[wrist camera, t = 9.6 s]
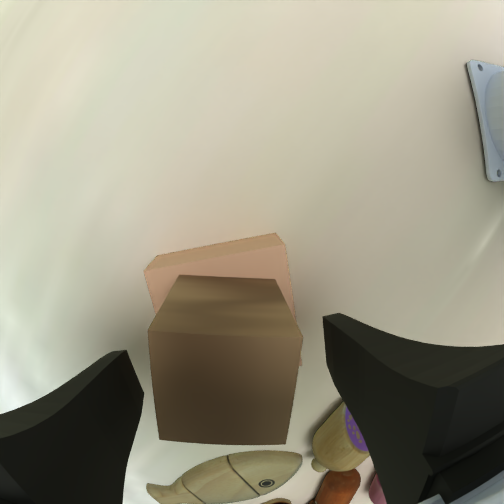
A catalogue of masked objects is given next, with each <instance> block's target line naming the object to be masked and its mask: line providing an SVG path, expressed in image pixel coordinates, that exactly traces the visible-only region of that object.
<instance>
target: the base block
mask: <svg viewBox="0 0 504 504" xmlns="http://www.w3.org/2000/svg"><path fill="white" fill-rule="evenodd" d="M144 274H145V278H146V281H147V285H148V289H149V292H150V296H151V299H152V302H153V306H154V309H155V313H156V314H157V313H158V311H159V309H160V307H161V306H162V304H163V302H164V300H165V299H166V297H167V295H168V293H169V292H170V290H171V288H172V286H173V285H174V283H175V281H176V279H177V278H178V276H179V275H197V276H217V277H239V278H262V279H275V280H276V282H277V284H278V286H279V288H280V290H281V292H282V294H283V296H284V298H285V300H286V302H287V305H288V307H289V309H290V311H291V313H292V315H293V317H294V319H295V321H296V316H295V309H294V302H293V295H292V288H291V281H290V274H289V268H288V261H287V255H286V248H285V244H284V242H283V241H282V240H281V239H280V238H279V236H278V235H277V234H276V233H272V234H267V235H261V236H256V237H251V238H245V239H240V240H235V241H229V242H224V243H219V244H214V245H209V246H203V247H198V248H193V249H188V250H183V251H178V252H173V253H168V254H162V255H157V256H156V257H155V259H154V260H153V261H152V262H151V263H150V264H149V265H148V267H147V268H146V269H145V270H144ZM299 366H302V361H301V355H300V362H299Z"/></svg>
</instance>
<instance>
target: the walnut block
mask: <svg viewBox="0 0 504 504" xmlns="http://www.w3.org/2000/svg"><path fill="white" fill-rule="evenodd" d="M148 340H149V354H150V365H151V376H152V386H153V395H154V403H155V411H156V419H157V426H158V433H159V440H167V441H177V442H188V443H202V444H221V445H281V444H286V439H287V434H288V428H289V423H290V417H291V412H292V406H293V400H294V394H295V388H296V381H297V375H298V368H299V362H300V355H301V348H302V341H303V336H302V334H301V332H300V330H299V328H298V325H297V323H296V321H295V319H294V317H293V315H292V313H291V311H290V309H289V307H288V305H287V302H286V300H285V298H284V296H283V294H282V292H281V290H280V288H279V286H278V284H277V282H276V280H275V279H262V278H239V277H217V276H197V275H179V276H178V278H177V279H176V281H175V283H174V285H173V286H172V288H171V290H170V292H169V293H168V295H167V297H166V299H165V300H164V302H163V304H162V306H161V307H160V309H159V311H158V313H157V314H156V316H155V318H154V320H153V322H152V323H151V325H150V327H149V329H148Z"/></svg>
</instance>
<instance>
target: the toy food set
mask: <svg viewBox="0 0 504 504" xmlns="http://www.w3.org/2000/svg"><path fill="white" fill-rule="evenodd" d="M312 449H313V453H314V456H315V459H313V460H312V463H311V465H312V468H313V469H314V470H315V471H317V472H324V471H325V470H326V469H329V470H331V471H330V472H328V473H327V475H326V476H325V479H324V481H323V483H322V485H321V487H320V490H319V492H318V494H317V496H316V498H315V499H313V500H312V501H310V502H309V503H308V504H349V503H350V501H351V500H352V498H353V496H354V495H355V493H356V491H357V489H358V488H359V486H360V482H361V477H360V474H359V473H358V471H357V470H356V469H355V468H356V467H357V466H358V465H359V464H361V463H362V462H363V461H364V460H365V459H366V458H367V457H368V456H369V455H370V453H369V451H368V448H367V446H366V443H365V441H364V438H363V436H362V434H361V432H360V430H359V428H358V426H357V424H356V422H355V421H354V419H353V417H352V415H351V413H350V412H349V410H348V408H347V406H346V405H345V403H344V401H343V402H342V404H341V405H340V406H339V407H338V408H337V409H336V410H335V411H334V412H333V414H332V415H331V416H330V417H329V418H328V419H327V420H326V421H325V422H324V424H323V425H322V426H321V427H320V428H319V429H318V430H317V431H316V433H315V435H314V438H313V443H312ZM301 465H302V456H301V455H300V454H298V453H294V452H286V451H270V450H264V451H248V452H240V453H234V454H229V455H227V456H222V457H218V458H215V459H212V460H209V461H206V462H204V463H202V464H199V465H197V466H195V467H193V468H192V469H190V470H188V471H187V472H185V473H184V474H183V475H182V477H179V478H178V479H177V480H176V481H175V482H174V483H173V484H172V485H170V486H161V485H155V484H149V483H147V486H146V489H147V492H148V493H149V495H151V496H152V497H153V498H154V499H155V500H156V501H158V502H159V503H160V504H182V503H187V504H223V503H232V502H239V501H244V500H249V499H253V498H256V497H259V496H260V495H265V494H267V493H270V492H272V491H274V490H275V489H277V488H279V487H280V486H282V485H283V484H285V483H286V482H287V481H288V480H289V479H290V478H292V477H293V476H294V474H295V473H296V472H297V471H298V470H299V468H300V467H301ZM369 497H370V499H371V501H372V502H373V503H374V504H387V503H386V499H385V496H384V493H383V490H382V487H381V484H380V481H379V478H378V475H377V473H376V475H375V477H374V479H373V481H372V483H371V486H370V488H369ZM262 504H291V501H290V500H288V499H284V498H276V499H272V500H270V501H267V502H265V503H262Z"/></svg>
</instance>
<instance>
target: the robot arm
mask: <svg viewBox="0 0 504 504" xmlns="http://www.w3.org/2000/svg"><path fill="white" fill-rule="evenodd" d="M467 68H468V72H469V76H470V79H471V84H472V88H473V92H474V96H475V101H476V106H477V111H478V116H479V122H480V127H481V134H482V140H483V147H484V155H485V164H486V174H487V178H488V180H490V181H494V182H495V181H504V67H502V66H498V65H494V64H490V63H485V62H481V61H476V60H470V61H468V62H467ZM478 68H479V69H478ZM323 328H324V339H325V350H326V363H327V366H328V369H329V372H330V374H331V377H332V380H333V382H334V385H335V387H336V388H337V390H338V392H339V394H340V396H341V397H342V399H343V401H344V403H345V405H346V406H347V408H348V410H349V412H350V413H351V415H352V417H353V419H354V421H355V422H356V424H357V426H358V428H359V430H360V432H361V434H362V436H363V438H364V441H365V443H366V446H367V448H368V451H369V453H370V456H371V459H372V461H373V464H374V467H375V470H376V472H377V475H378V478H379V481H380V484H381V487H382V490H383V493H384V496H385V499H386V503H387V504H504V344H503V345H494V346H484V347H454V346H443V345H434V344H428V343H422V342H418V341H413V340H409V339H405V338H402V337H398V336H395V335H392V334H389V333H386V332H384V331H381V330H378V329H376V328H373V327H371V326H369V325H366V324H364V323H362V322H360V321H357V320H355V319H353V318H351V317H348V316H346V315H344V314H341V313H336V314H332V315H328V316H323ZM143 398H144V392H143V389H142V387H141V385H140V382H139V380H138V378H137V375H136V373H135V370H134V368H133V365H132V363H131V360H130V358H129V355H128V353H127V350H121V351H112V352H110V353H108V354H107V355H105V356H103V357H102V358H100V359H99V360H97V361H96V362H95V363H93V364H92V365H90V366H89V367H88V368H86V369H85V370H84V371H82V372H81V373H79V374H78V375H77V376H75V377H74V378H72V379H71V380H69V381H68V382H66V383H65V384H63V385H62V386H60V387H59V388H57V389H56V390H54V391H52V392H51V393H49V394H47V395H45V396H43V397H42V398H40V399H38V400H36V401H34V402H32V403H29V404H27V405H24V406H22V407H20V408H17V409H15V410H12V411H9V412H6V413H3V414H0V504H122V503H123V489H124V481H125V473H126V467H127V462H128V458H129V455H130V451H131V448H132V445H133V441H134V438H135V434H136V431H137V428H138V424H139V421H140V417H141V413H142V406H143Z"/></svg>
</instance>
